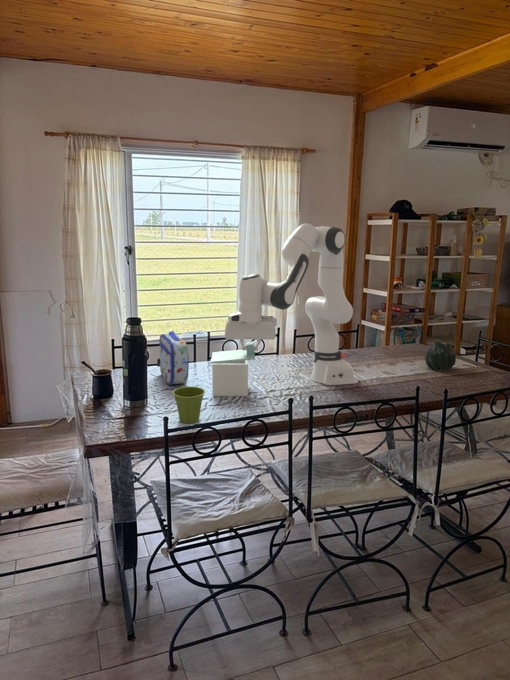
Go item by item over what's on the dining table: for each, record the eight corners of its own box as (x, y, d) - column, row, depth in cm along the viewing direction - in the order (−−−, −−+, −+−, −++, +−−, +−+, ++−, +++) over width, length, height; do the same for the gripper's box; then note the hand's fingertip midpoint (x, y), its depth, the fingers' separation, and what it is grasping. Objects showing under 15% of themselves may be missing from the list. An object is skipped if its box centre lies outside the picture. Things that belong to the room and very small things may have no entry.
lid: (253, 350, 208) (252, 338, 207) (255, 359, 194) (254, 347, 192) (212, 354, 208) (211, 342, 207) (211, 363, 193) (209, 351, 192)
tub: (246, 385, 229) (247, 355, 226) (247, 395, 215) (247, 364, 212) (213, 385, 228) (213, 355, 225) (212, 396, 215) (212, 364, 211)
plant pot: (167, 423, 185) (166, 394, 182) (183, 412, 195) (182, 385, 193) (196, 428, 181) (195, 398, 178) (210, 416, 191) (210, 388, 189)
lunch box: (156, 372, 248) (154, 328, 243) (176, 370, 251) (175, 327, 247) (169, 389, 223) (167, 340, 218) (191, 386, 227) (190, 339, 222)
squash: (466, 361, 253) (450, 335, 259) (448, 366, 245) (432, 340, 250) (446, 373, 264) (432, 349, 269) (428, 379, 256) (413, 354, 261)
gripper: (276, 314, 201) (275, 348, 204) (224, 314, 200) (224, 348, 203) (277, 317, 195) (276, 352, 198) (224, 317, 194) (224, 352, 197)
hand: (250, 350), depth 200 cm, fingers closed on lid, 3 cm apart
